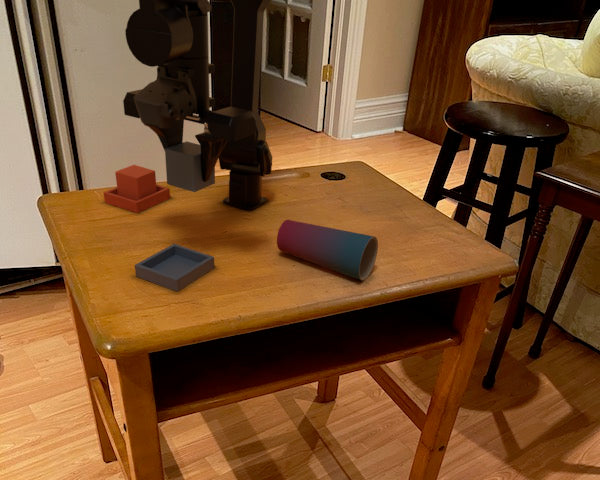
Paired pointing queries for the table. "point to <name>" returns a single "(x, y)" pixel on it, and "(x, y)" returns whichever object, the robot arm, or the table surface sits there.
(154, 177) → the rust block
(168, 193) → the rust tray
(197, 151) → the blue block
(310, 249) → the cup
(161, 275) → the blue tray
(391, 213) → the table surface
